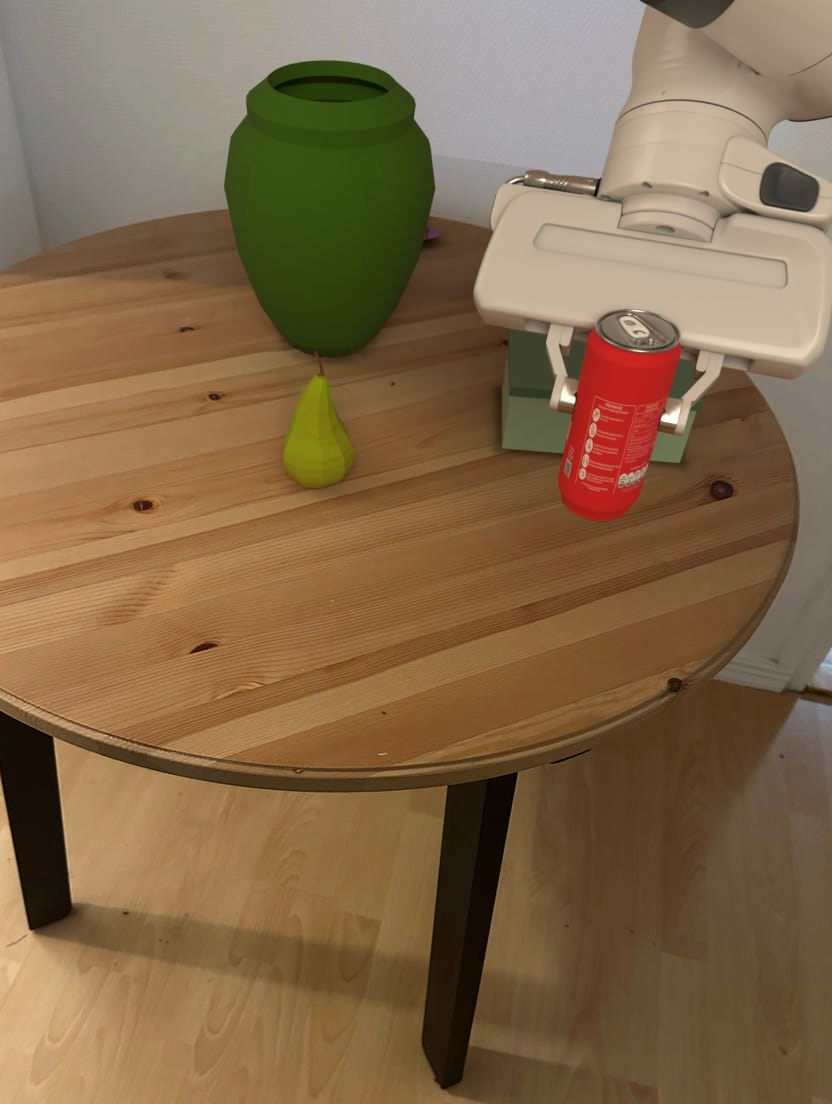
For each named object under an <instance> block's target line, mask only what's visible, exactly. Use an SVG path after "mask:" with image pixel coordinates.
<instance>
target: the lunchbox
mask: <svg viewBox="0 0 832 1104" xmlns="http://www.w3.org/2000/svg"><path fill="white" fill-rule="evenodd" d="M507 332H508V333H507V352H506V353H507V354H506V360H505V366H504V374H503V378H502V379H503V380H502V385H501V448H502V449H503V450H504V449H505V450H516V451H527V452H528V451H529V452H540V453H550V454H551V453H552V454H563V452H564V448H565V443H566V438H567V434H568V429H569V424H570V419H571V415H572V414H568V413H563V412H558V411H553V410H550V400H551V396H552V392H553V388H554V384H555V380H554V377H553V373H552V370H551V366H550V363H549V360H548V356H547V351H546V340H547V336H548V335H542V334H537V333H532V332H526V331H521V330H515V329H510V328H508V331H507ZM586 345H587V343H586V342H580V341H575V340H573V343H572V347H571V350H570V354H569V356H562V358H563V362H564V365H565V369H566V372H567V376H568V377H569V378H574V379H578V380H579V377H580V373H581V368H582V363H583V359H584V354H585V349H586ZM693 369H694V362H689V361H684V360H679V362H678V366H677V369H676V372H675V376H674V379H673V383H672V386H671V390H670V393H669V396H668V397H673V398H679V399H681V398H682V397H683V396H684V395H685V394H686V393H687V391H688V390H689V389H690V388H691V387H692V386H693V385H694V384H695V383H696V382H697V381H695V380H692V378H691V377H692V373H693ZM703 403H704V400H703V396H702V397H701V398H700V399H699V400H698V401H697V403H696V404H695V405H694V406H693V407H692V408H690V411H689V415H688V418H687V422H686V426H685V429H684V432H683V434H682V436H678V435H673V434H668V433H664V432H659V431H658V434H657V437H656V441H655V444H654V448H653V451H652V455H651V458H650V461H649V462H661V463H670V464H671V463H673V464H680V463H681V460H682V458H683V454H684V452H685V449H686V445H687V443H688V439H689V437H690V432H691V430H692V427H693V423H694V420H695V418H696V415H697V412H701V409H702V406H703Z"/></svg>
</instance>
